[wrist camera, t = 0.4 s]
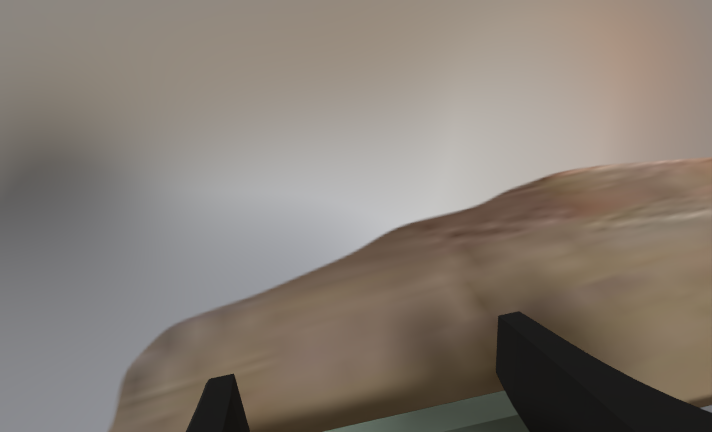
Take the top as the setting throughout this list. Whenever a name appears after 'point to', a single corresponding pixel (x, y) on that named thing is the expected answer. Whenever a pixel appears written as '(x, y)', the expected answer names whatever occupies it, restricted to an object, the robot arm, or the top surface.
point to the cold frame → (451, 418)
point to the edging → (707, 408)
